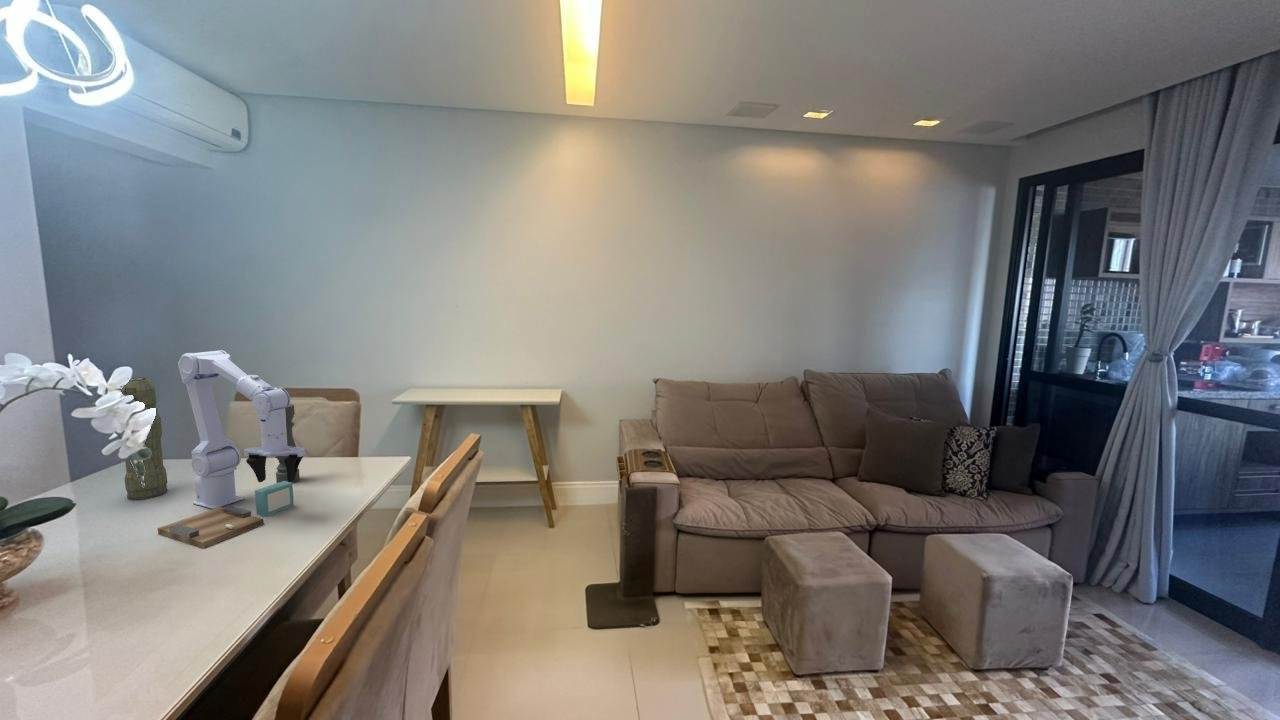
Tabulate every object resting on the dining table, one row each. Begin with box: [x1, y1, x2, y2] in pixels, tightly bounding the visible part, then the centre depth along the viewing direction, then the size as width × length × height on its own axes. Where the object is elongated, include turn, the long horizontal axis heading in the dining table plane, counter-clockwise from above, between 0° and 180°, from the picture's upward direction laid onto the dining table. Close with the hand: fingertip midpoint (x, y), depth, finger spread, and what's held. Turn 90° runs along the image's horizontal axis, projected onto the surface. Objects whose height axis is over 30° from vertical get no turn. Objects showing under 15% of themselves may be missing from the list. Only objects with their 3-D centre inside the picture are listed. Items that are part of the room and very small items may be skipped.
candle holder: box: [274, 403, 301, 484], centre depth 162 cm, size 6×6×25 cm
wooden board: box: [157, 505, 265, 549], centre depth 131 cm, size 18×14×3 cm
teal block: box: [254, 481, 295, 518], centre depth 142 cm, size 4×8×7 cm, turn 159°
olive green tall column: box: [121, 377, 169, 501], centre depth 148 cm, size 9×12×35 cm
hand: (276, 481), depth 139 cm, fingers open, 7 cm apart
